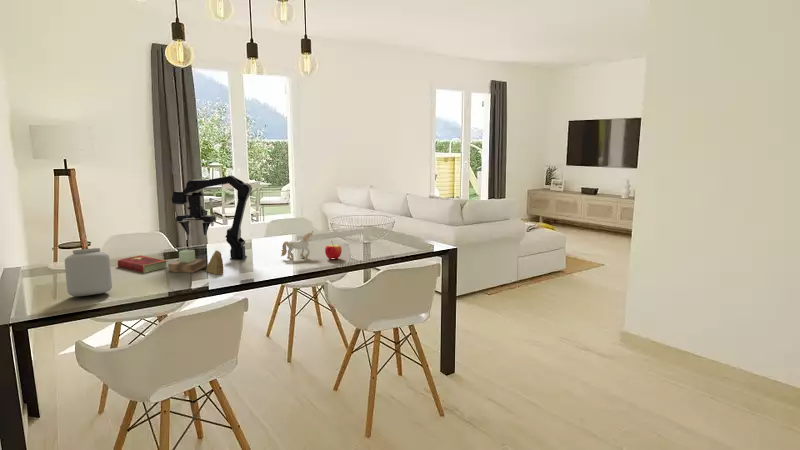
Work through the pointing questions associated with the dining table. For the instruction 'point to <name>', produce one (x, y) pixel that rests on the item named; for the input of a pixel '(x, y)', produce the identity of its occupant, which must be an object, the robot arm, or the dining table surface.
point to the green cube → (187, 256)
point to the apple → (333, 251)
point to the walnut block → (187, 266)
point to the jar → (88, 272)
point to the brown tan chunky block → (215, 264)
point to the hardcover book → (142, 263)
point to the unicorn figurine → (297, 246)
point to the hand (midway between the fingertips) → (196, 234)
